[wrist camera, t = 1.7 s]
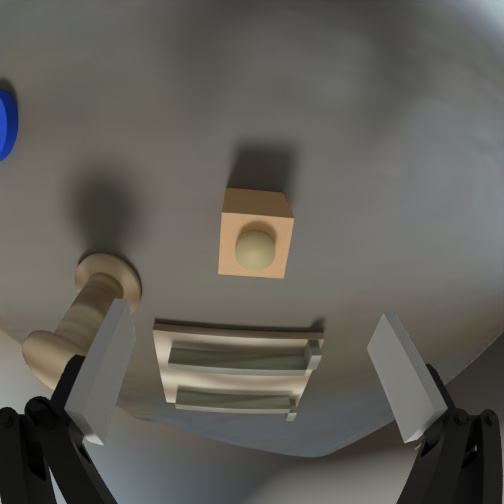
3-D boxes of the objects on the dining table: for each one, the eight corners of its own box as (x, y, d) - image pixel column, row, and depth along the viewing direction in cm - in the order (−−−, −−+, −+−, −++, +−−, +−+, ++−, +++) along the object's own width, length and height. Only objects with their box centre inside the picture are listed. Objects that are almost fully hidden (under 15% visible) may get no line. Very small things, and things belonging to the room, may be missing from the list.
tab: (226, 187, 25) (221, 217, 19) (283, 192, 25) (296, 224, 19) (222, 238, 27) (217, 281, 21) (275, 242, 28) (284, 285, 22)
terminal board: (154, 322, 32) (147, 345, 29) (322, 332, 34) (328, 354, 31) (167, 395, 40) (164, 414, 37) (295, 401, 41) (298, 420, 38)
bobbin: (72, 249, 27) (8, 330, 16) (137, 255, 28) (88, 351, 16) (86, 307, 31) (43, 389, 20) (145, 315, 32) (115, 410, 20)
